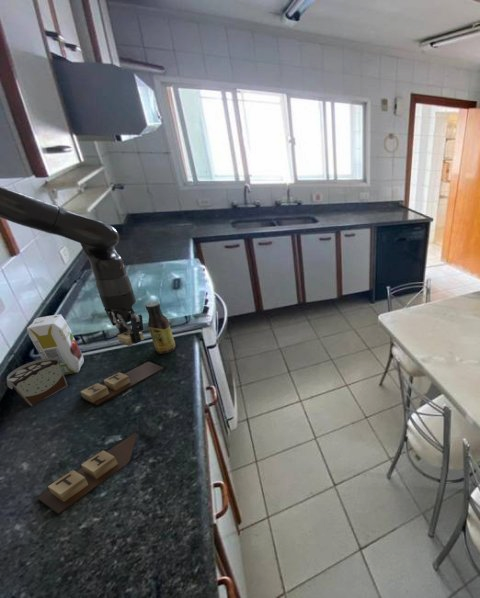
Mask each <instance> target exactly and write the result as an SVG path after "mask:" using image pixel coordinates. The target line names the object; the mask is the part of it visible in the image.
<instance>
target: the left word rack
mask: <svg viewBox="0 0 480 598" xmlns="http://www.w3.org/2000/svg"><path fill="white" fill-rule="evenodd" d="M137 436H138V433H137V432H133V433H132V434H131V435H129V436H128V437H126V438H125V439H122V441H120V442H119V443H117V444H115V445H114V446H112V447H110V449H108V450H103V449H102V450H101V451H100V452H98V453H96V454H95V455H93V456H92V457H91V458H89V459H87V460H86V461H84V462H82V463H81V464H80V465H81V468H79V469H78V470H76V471H75V470H74V469H72V470H71V471H69V472H67V473H66V474H65V475H63V476H61V477H60V478H58V479H57V480H56V481H54V482H52V483H51V484H49V485H48V486H47V488H48V490H46V491H45V492H44V493H42V494H40V495H39V496H37V497H36V498H37V500H38V501H39V502H40V503H42V504H43V505H44V506H46V507H47V508H49V509H50V510H51V511H53V512H55V513H56V514H57V515H59V516H60V515H62V514H63V513H64V512H65V511H67V510H68V509H69V508H70V507H72V506H74V505H75V504H76V503H77V502H79V501H80V500H81V499H83V498H84V497H85V496H87V495H88V494H89V493H90V492H92V491H93V490H94V489H96V488H97V487H98V486H100V485H101V484H102V483H103V482H105V481H107V480H108V479H109V478H111V477H112V476H113V475H114V474H115V473H117V472H118V471H119V470H121V469H122V468H123V467H125V466H126V465H127V464H129V463H130V460H131V457H132V453H133V450H134V447H135V443H136V441H137V440H136V439H137Z"/></svg>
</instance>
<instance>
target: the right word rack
mask: <svg viewBox="0 0 480 598" xmlns="http://www.w3.org/2000/svg"><path fill="white" fill-rule="evenodd" d="M164 369H165V367H164V366H161V365H158V364H156V363H154V362H151V361H146V362H144V363H143V364H140V365H138V366H136V367H135V368H132V369H131V370H129V371H126V372H125V373H122V372H117V373H115V374H113V375H111V376H108V377H107V378H105V379H103V382H104V383H103V384H101V383H99V382H96V383H95V384H93V385H91V386H89V387H87V388H84V389H83V390H80V394H81V395H80V398H81V399H82V400H85V401H86V402H88V403H91V404H92V405H95V406H96V407H99V406H101V405H103V404H104V403H106V402H109V401H111V400H112V399H114V398H115V397H118V396H119V395H121V394H123V393H125V392H127V391H128V390H129V389H131V388H134V387H136V385H138V384H140V383H141V382H143V381H145V380H147V379H148V378H150V377H152V376H154V375H155V374H157V373H158V372H160V371H162V370H164Z"/></svg>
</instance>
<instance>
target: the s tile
mask: <svg viewBox="0 0 480 598" xmlns="http://www.w3.org/2000/svg"><path fill="white" fill-rule="evenodd" d="M139 334H140V337H141V341H140V342H142V341H144V340H145V337H144V333H143V332H142V331H140V332H139ZM117 338H118V339H117V340H118V342H119V343H121V344H122V345H126V346H128V347H130V346H132V345H135V344H134V343H132V340H131V337H130V334H129V331H127V332H124V333H122V334H120V333H119V334H117Z"/></svg>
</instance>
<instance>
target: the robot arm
mask: <svg viewBox="0 0 480 598" xmlns="http://www.w3.org/2000/svg"><path fill="white" fill-rule="evenodd" d="M0 219H3V220H6V221H8V222H10V223H13V224H17V225H20V226H23V227H27V228H29V229H32V230H35V231H36V230H37V231H40V232H43V233H46V234H50V235H55V236H59V237H63V238H65V239H67V240H71V241H74V242H76V243H79V244H80V246H81V248H82V250H83V251H84V253H85V255H86V257H87V259H88V261H89V263H90V268H91V271H92V274H93V276H94V280H95V287H96V289H97V292H98V295H99V298H100V300H101V304H102V306H103V308H104V311H105V314H106V316H107V317H108V319H109V321H110V323H111V325H112V326H113V327H114V326H115V327H116V329H117V330H118V331H119V335H120V334H122V333H124V332H127V331H129V334H130V337H131V340H132V343H134V344H133V345H136V344H139V343H141V342H142V341H141V337H140V334H139V332H142V331H144V322H143V321H144V320H143V315H142V314H136V312H135V310H134V308H133V306H134V305H135V304H136V302H137V299H136V295H135V293H134V288H133V286H132V283H131V279H130V277H129V276H128V272H127V269H126V266H125V264H124V260H123V258H122V257H121V255H120V254H118V252H117V250H116V246H117V245H118V244H119V241H120V235H119V232H118V231H117V229H116V228H115V227H114V226H112V225H110V224H109V223H106V222H104V221H102V220H99V219H94V218H90V217H86V216H84V215H80V214H77V213H74V212H72V211H70V210H68V209H66V208H64V207H61V206H59V205H56V204H53V203H50V202H47V201H45V200H42V199H39V198H36V197H33V196H30V195H27V194H24V193H22V192H19V191H15V190H12V189H10V188H6V187H4V186H0Z"/></svg>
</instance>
